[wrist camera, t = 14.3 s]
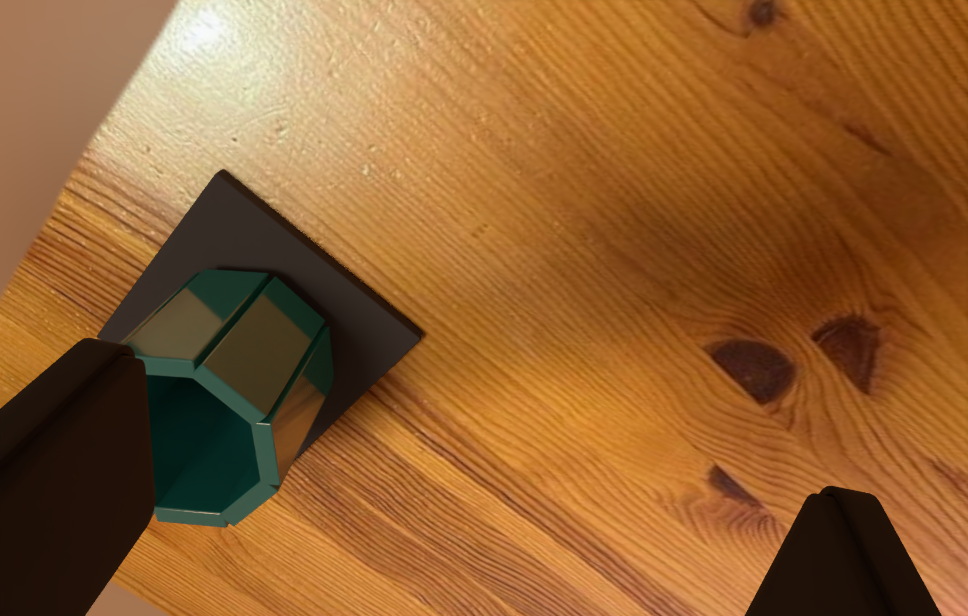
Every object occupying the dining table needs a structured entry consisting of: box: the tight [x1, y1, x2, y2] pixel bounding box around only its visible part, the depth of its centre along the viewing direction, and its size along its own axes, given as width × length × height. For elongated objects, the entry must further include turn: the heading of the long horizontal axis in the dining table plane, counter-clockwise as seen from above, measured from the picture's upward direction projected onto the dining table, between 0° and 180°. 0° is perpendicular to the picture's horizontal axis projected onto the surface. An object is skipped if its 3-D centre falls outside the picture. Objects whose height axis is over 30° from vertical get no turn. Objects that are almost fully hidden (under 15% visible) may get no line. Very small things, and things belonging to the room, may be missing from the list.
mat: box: [97, 170, 423, 460], centre depth 30 cm, size 10×10×1 cm
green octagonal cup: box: [119, 269, 334, 528], centre depth 27 cm, size 7×7×7 cm
